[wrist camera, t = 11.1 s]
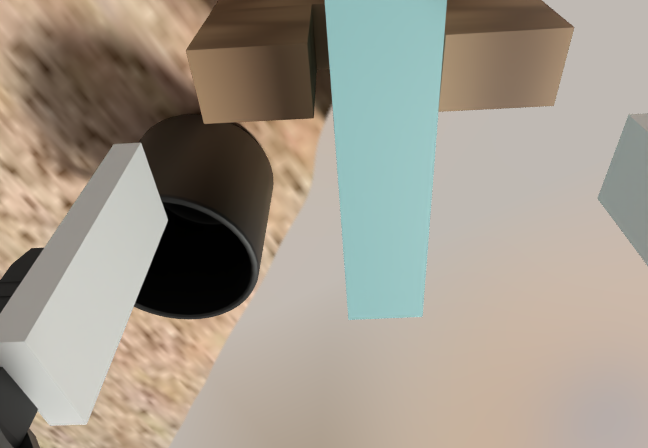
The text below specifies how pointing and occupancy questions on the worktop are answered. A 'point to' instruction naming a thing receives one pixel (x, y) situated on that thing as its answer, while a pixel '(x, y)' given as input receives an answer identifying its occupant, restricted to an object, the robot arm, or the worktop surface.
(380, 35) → the teal flat block
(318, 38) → the walnut u-shaped block
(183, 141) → the mug
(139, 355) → the worktop surface
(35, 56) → the worktop surface
